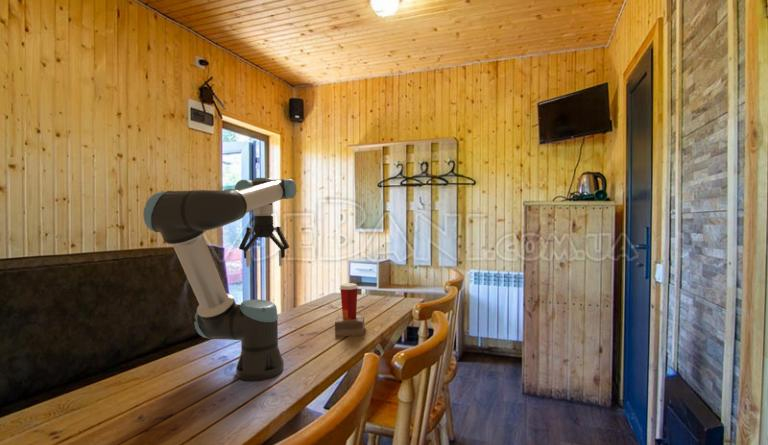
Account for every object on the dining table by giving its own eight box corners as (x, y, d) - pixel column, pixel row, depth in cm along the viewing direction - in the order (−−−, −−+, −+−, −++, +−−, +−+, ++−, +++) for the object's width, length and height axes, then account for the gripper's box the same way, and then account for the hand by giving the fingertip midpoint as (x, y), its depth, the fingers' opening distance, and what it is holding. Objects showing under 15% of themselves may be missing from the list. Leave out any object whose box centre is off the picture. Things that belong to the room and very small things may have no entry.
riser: (362, 335, 158) (362, 321, 158) (335, 336, 158) (334, 321, 158) (364, 327, 170) (364, 314, 170) (338, 327, 170) (338, 314, 170)
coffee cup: (360, 315, 168) (359, 283, 168) (356, 320, 160) (356, 286, 160) (342, 315, 169) (341, 283, 169) (338, 320, 161) (337, 286, 161)
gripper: (295, 214, 156) (296, 264, 156) (237, 215, 156) (238, 265, 156) (291, 214, 148) (292, 266, 148) (229, 215, 148) (231, 267, 149)
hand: (264, 266), depth 152 cm, fingers open, 13 cm apart
